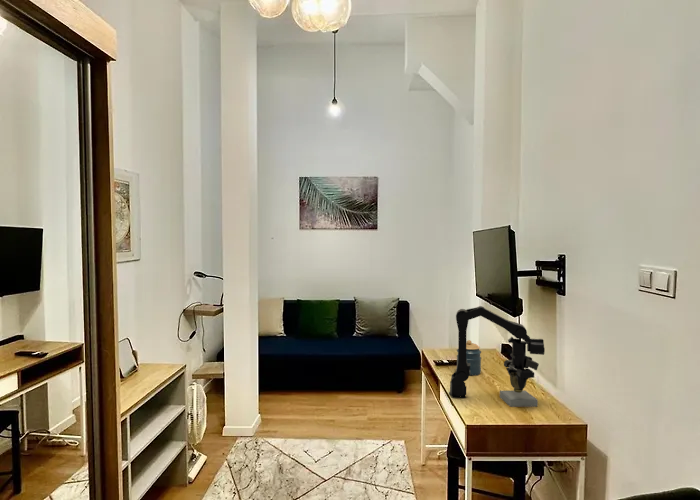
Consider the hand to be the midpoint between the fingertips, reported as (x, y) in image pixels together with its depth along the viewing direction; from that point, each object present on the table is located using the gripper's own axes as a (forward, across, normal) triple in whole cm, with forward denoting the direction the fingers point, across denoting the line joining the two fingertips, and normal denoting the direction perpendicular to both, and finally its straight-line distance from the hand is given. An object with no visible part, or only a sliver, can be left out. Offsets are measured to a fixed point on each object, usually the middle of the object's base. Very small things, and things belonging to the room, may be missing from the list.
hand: (518, 387), depth 199 cm
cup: (+2, 0, 0) cm, 2 cm away
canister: (+7, +45, +8) cm, 46 cm away
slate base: (+6, 0, 0) cm, 6 cm away
